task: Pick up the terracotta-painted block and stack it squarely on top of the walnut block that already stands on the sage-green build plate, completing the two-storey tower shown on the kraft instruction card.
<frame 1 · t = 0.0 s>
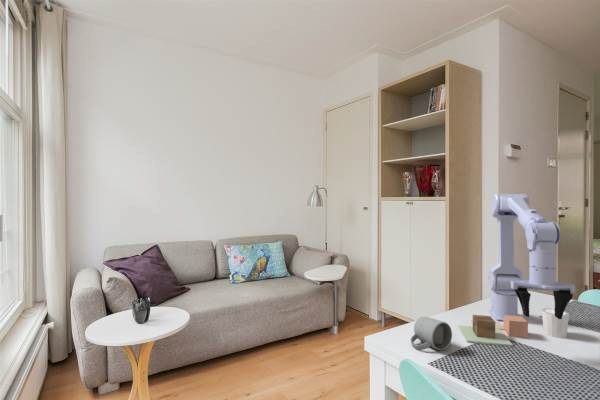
hand: (541, 316, 90), 10 cm above the table, fingers open, 7 cm apart
terracotta block: (515, 334, 103), on the table
white cup: (555, 334, 103), on the table
instruction card: (488, 325, 111), on the table
walnut block: (483, 334, 102), resting on build plate
build plate: (483, 336, 102), on the table
ceramic mug: (429, 346, 95), on the table
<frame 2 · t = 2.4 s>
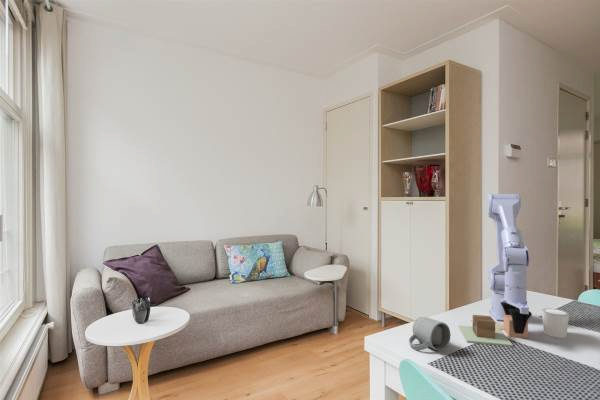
hand: (515, 329, 103), 1 cm above the table, fingers closed on terracotta block, 5 cm apart
terracotta block: (515, 334, 103), on the table, touching gripper
when the fingers open (8 cm above the table, at t = 5.4 s): terracotta block stays where it is, resting on walnut block.
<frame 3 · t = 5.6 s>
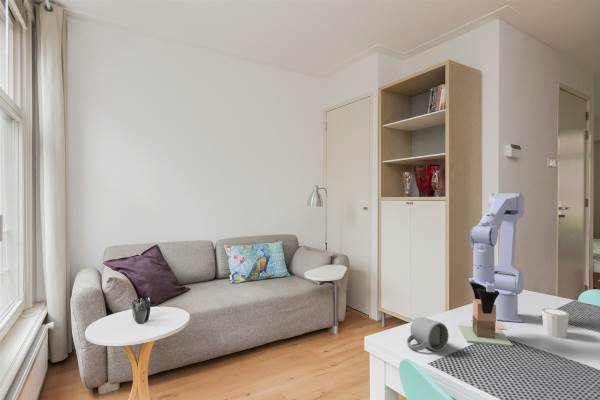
hand: (483, 309, 102), 8 cm above the table, fingers open, 6 cm apart
terracotta block: (484, 318, 102), point 5 cm above the table, touching walnut block
walnut block: (483, 334, 102), resting on build plate, touching terracotta block
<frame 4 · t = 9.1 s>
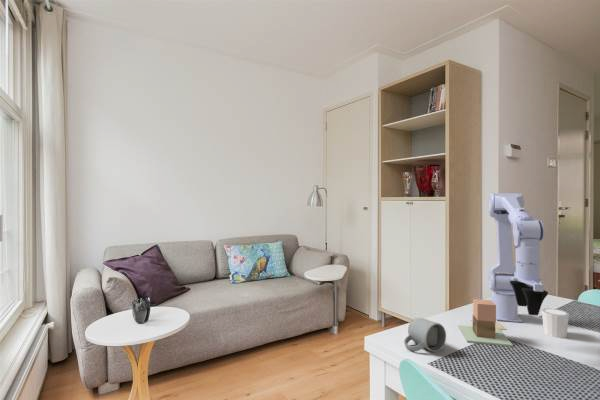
hand: (527, 310, 95), 10 cm above the table, fingers open, 7 cm apart
at the end: terracotta block 0.2 cm off-centre on the walnut block, point 5.0 cm above the walnut block's base; terracotta block tilted 0°; walnut block tilted 0° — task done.
